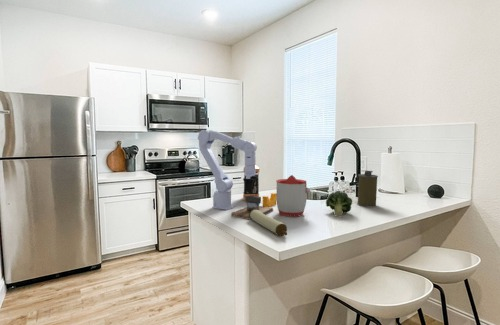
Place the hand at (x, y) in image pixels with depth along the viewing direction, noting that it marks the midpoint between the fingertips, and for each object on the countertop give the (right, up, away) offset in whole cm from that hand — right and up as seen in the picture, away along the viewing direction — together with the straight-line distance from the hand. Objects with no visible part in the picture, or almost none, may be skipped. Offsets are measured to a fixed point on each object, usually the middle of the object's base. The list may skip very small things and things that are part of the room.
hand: (250, 190), depth 155 cm
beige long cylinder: (+7, -13, -29) cm, 32 cm away
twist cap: (+1, -9, -6) cm, 11 cm away
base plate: (+1, -11, -6) cm, 12 cm away
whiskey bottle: (0, -8, +27) cm, 28 cm away
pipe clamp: (+10, -10, +11) cm, 18 cm away
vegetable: (+46, -12, -5) cm, 47 cm away
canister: (+67, -10, +15) cm, 70 cm away
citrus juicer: (+21, -12, -7) cm, 25 cm away
